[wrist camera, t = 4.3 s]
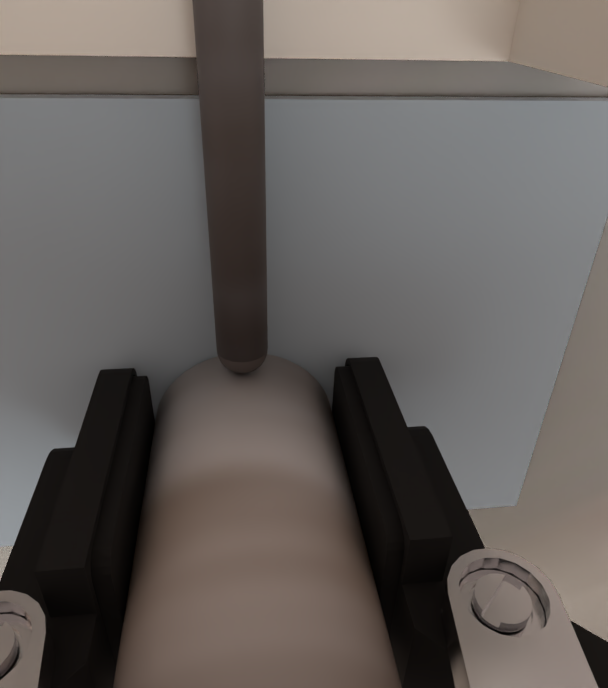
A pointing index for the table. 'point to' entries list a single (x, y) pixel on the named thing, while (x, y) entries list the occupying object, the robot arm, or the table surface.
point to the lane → (330, 30)
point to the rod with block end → (247, 455)
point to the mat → (302, 260)
